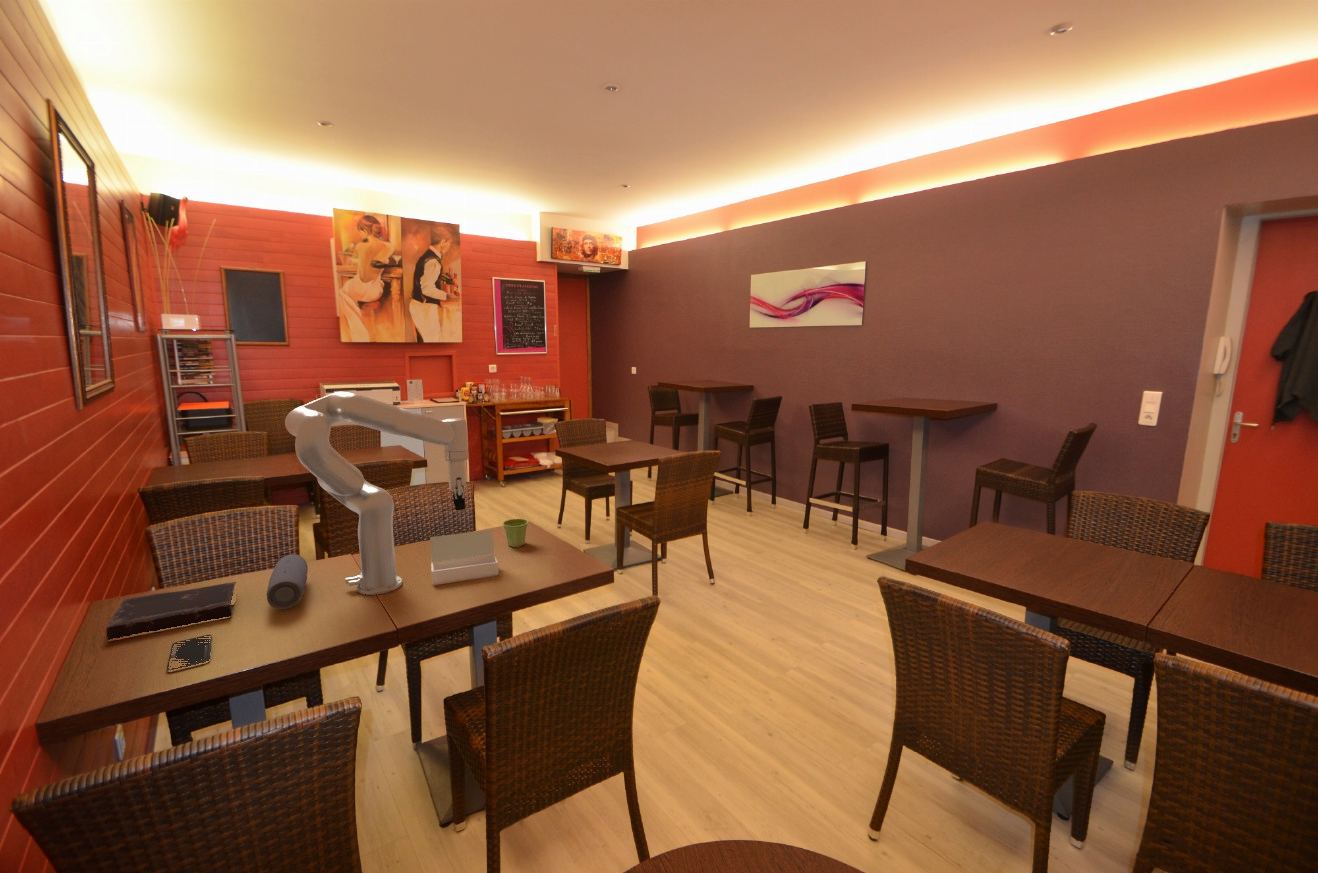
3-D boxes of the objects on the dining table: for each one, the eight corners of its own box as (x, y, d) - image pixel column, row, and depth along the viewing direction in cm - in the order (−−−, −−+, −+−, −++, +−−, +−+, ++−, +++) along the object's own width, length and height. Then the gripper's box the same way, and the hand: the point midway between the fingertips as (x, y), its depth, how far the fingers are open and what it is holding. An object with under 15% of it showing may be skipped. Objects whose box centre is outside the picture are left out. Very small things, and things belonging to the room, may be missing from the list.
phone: (166, 671, 129) (172, 642, 141) (166, 675, 130) (173, 646, 142) (210, 660, 134) (212, 633, 146) (210, 664, 134) (213, 637, 146)
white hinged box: (432, 585, 177) (431, 571, 176) (431, 575, 184) (431, 562, 184) (498, 575, 185) (498, 562, 184) (495, 566, 192) (494, 553, 191)
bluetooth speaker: (306, 609, 161) (302, 576, 159) (266, 617, 156) (262, 582, 155) (311, 580, 181) (308, 550, 179) (276, 586, 176) (272, 555, 175)
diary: (231, 621, 156) (229, 604, 155) (108, 646, 143) (105, 627, 142) (238, 594, 171) (236, 578, 170) (126, 614, 158) (124, 598, 157)
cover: (430, 537, 185) (430, 537, 186) (431, 562, 184) (431, 562, 184) (492, 529, 193) (492, 529, 193) (494, 553, 191) (494, 553, 192)
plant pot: (502, 541, 216) (502, 519, 215) (528, 539, 219) (527, 517, 218) (503, 550, 208) (503, 527, 206) (530, 547, 210) (529, 525, 209)
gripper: (443, 451, 197) (446, 501, 200) (445, 461, 181) (449, 515, 184) (466, 449, 200) (468, 499, 203) (470, 459, 184) (473, 512, 187)
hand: (459, 506), depth 193 cm, fingers open, 6 cm apart
